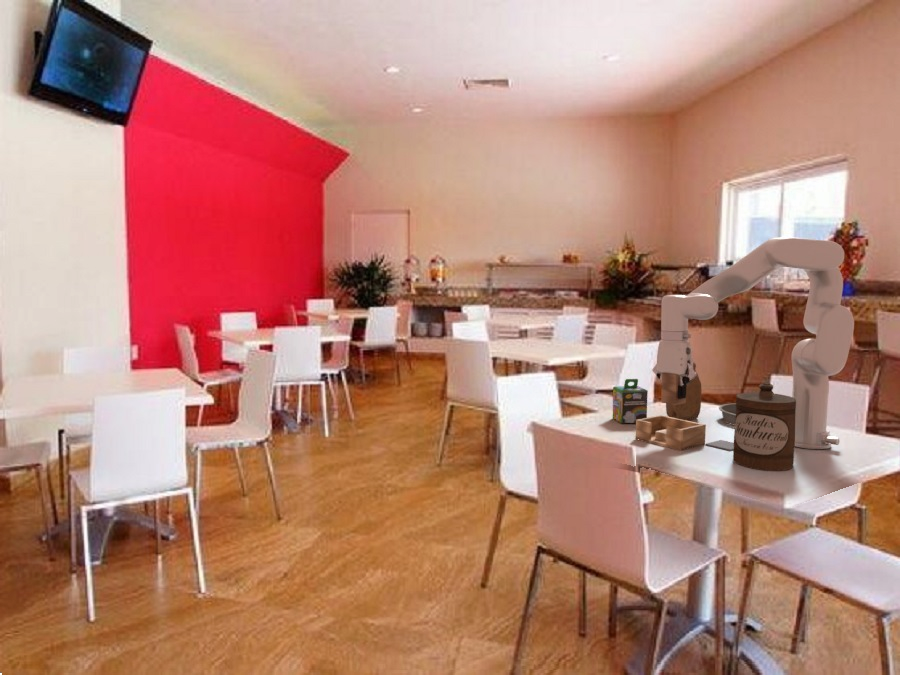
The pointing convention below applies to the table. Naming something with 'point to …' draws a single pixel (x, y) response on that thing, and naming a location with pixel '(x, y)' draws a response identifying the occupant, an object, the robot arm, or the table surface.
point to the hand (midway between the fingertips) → (673, 396)
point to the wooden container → (764, 430)
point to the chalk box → (629, 402)
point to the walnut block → (670, 389)
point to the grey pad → (722, 445)
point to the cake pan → (728, 412)
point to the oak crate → (670, 432)
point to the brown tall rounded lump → (688, 401)
